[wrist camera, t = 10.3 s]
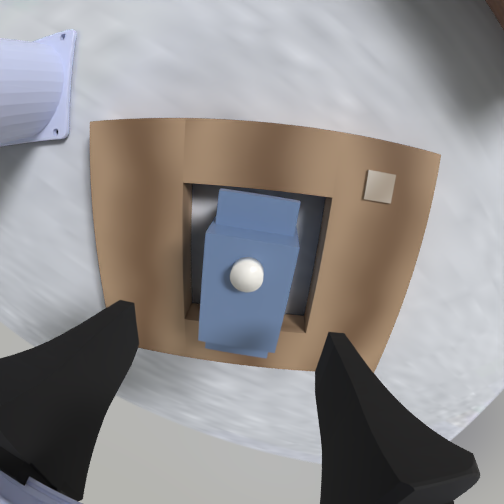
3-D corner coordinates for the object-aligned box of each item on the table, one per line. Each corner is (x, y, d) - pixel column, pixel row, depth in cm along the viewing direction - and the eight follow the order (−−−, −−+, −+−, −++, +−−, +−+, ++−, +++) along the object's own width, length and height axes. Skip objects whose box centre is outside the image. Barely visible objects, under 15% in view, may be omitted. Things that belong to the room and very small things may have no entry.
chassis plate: (123, 327, 23) (112, 343, 21) (106, 120, 17) (88, 122, 15) (368, 355, 23) (374, 374, 21) (426, 150, 16) (442, 155, 14)
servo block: (216, 302, 22) (195, 369, 16) (230, 171, 18) (205, 199, 12) (272, 312, 22) (268, 381, 16) (298, 182, 18) (308, 216, 12)
